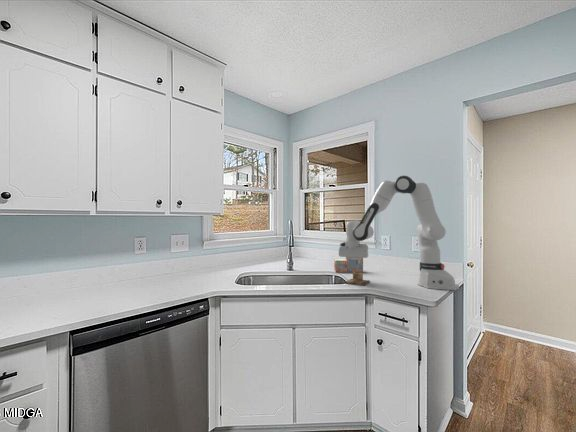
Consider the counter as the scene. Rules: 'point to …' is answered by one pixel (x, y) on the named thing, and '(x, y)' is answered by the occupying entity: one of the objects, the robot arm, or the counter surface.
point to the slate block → (353, 263)
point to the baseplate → (358, 282)
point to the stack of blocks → (347, 265)
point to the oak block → (357, 277)
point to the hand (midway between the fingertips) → (353, 263)
